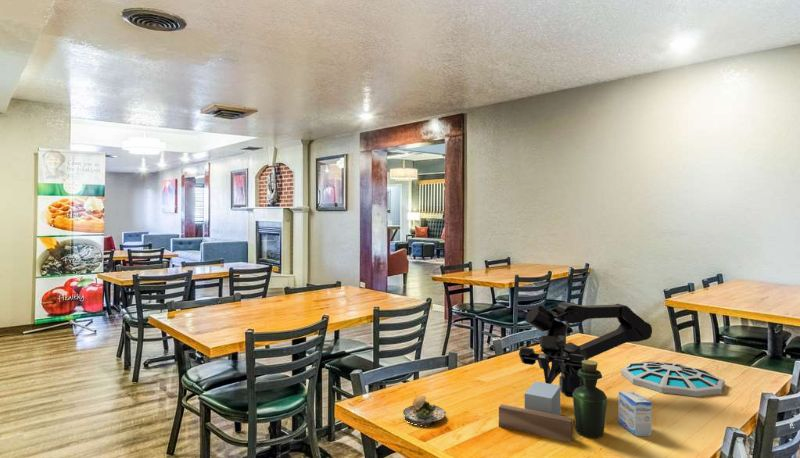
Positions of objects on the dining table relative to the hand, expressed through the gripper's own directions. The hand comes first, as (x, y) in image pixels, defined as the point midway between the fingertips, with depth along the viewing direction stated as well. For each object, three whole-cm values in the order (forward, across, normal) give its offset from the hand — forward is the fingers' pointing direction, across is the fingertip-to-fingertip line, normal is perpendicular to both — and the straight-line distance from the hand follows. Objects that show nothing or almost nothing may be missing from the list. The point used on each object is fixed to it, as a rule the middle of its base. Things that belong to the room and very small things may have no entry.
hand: (547, 385), depth 132 cm
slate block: (+10, +1, -1) cm, 10 cm away
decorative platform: (-27, +30, +38) cm, 55 cm away
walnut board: (+17, +1, -8) cm, 19 cm away
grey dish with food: (+22, -28, -12) cm, 37 cm away
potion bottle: (+12, +13, -3) cm, 18 cm away
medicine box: (+7, +23, +3) cm, 24 cm away
